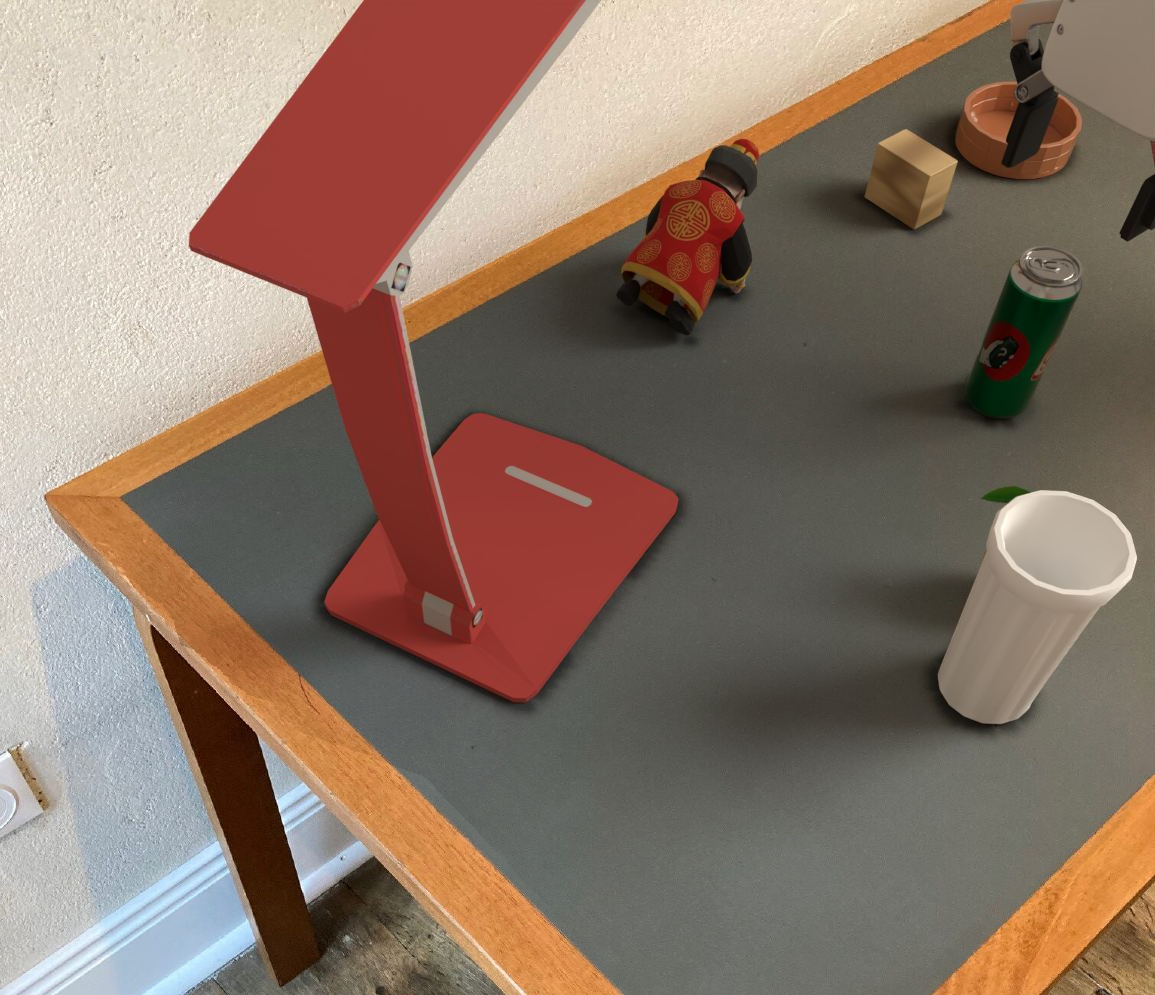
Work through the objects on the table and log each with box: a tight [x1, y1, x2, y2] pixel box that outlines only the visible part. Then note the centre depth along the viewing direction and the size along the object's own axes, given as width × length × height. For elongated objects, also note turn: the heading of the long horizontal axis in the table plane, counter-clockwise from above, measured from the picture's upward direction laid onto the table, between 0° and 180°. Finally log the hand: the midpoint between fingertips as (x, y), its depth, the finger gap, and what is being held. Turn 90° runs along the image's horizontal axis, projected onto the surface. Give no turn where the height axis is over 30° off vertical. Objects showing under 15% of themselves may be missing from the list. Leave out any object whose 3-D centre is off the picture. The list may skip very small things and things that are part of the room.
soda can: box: [964, 245, 1083, 419], centre depth 86 cm, size 5×5×12 cm
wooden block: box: [864, 128, 959, 231], centre depth 102 cm, size 6×4×5 cm, turn 39°
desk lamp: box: [188, 0, 679, 703], centre depth 67 cm, size 18×38×40 cm, turn 151°
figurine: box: [615, 138, 760, 336], centre depth 94 cm, size 10×10×15 cm
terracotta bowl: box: [954, 81, 1083, 180], centre depth 108 cm, size 11×11×3 cm
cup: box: [937, 489, 1138, 725], centre depth 71 cm, size 8×8×14 cm
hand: (1076, 194), depth 77 cm, fingers open, 9 cm apart
